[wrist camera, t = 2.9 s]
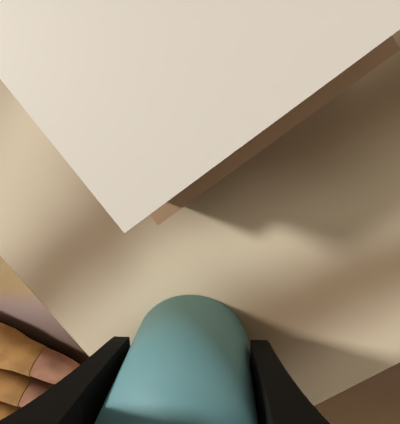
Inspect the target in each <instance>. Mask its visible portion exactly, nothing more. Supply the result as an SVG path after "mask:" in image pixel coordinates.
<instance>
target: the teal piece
mask: <svg viewBox="0 0 400 424" xmlns="http://www.w3.org/2000/svg"><path fill="white" fill-rule="evenodd" d="M94 424H258V421H257V412H256V402H255V393H254V384H253V377H252V368H251V359H250V348H249V340H248V335H247V332H246V330H245V328H244V325H243V324H242V322H241V321H240V319H239V318H238V317H237V315H236V314H235V313H234V312H233V311H232V310H230V309H229V308H228V307H227V306H225V305H224V304H222V303H220V302H218V301H216V300H214V299H211V298H209V297H205V296H200V295H180V296H175V297H171V298H168V299H166V300H164V301H162V302H160V303H158V304H157V305H156V306H154V307H153V308H152V309H151V310H150V311H149V312H148V313H147V315H146V316H145V317H144V319H143V321H142V323H141V325H140V327H139V329H138V331H137V333H136V335H135V338H134V340H133V342H132V344H131V346H130V348H129V350H128V353H127V355H126V357H125V359H124V361H123V363H122V365H121V368H120V370H119V372H118V374H117V376H116V378H115V380H114V383H113V385H112V387H111V389H110V391H109V393H108V395H107V398H106V400H105V402H104V404H103V406H102V408H101V410H100V413H99V415H98V417H97V419H96V421H95V423H94Z"/></svg>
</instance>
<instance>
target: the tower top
mask: <svg viewBox="0 0 400 424" xmlns="http://www.w3.org/2000/svg"><path fill="white" fill-rule="evenodd" d="M398 30H400V0H0V79H1V81H2V82H3V83H4V84H5V86H6V87H7V88H8V89H9V91H10V92H11V93H12V94H13V95H14V97H15V98H16V99H17V100H18V102H19V103H20V104H21V105H22V107H23V108H24V109H25V110H26V112H27V113H28V114H29V115H30V117H31V118H32V119H33V120H34V122H35V123H36V124H37V125H38V127H39V128H40V129H41V130H42V132H43V133H44V134H45V135H46V137H47V138H48V139H49V140H50V141H51V143H52V144H53V145H54V146H55V148H56V149H57V150H58V151H59V153H60V154H61V155H62V156H63V158H64V159H65V160H66V161H67V163H68V164H69V165H70V166H71V168H72V169H73V170H74V171H75V173H76V174H77V175H78V176H79V178H80V179H81V180H82V181H83V183H84V184H85V185H86V186H87V188H88V189H89V190H90V191H91V192H92V194H93V195H94V196H95V197H96V199H97V200H98V201H99V202H100V204H101V205H102V206H103V207H104V209H105V210H106V211H107V212H108V214H109V215H110V216H111V217H112V219H113V220H114V221H115V222H116V224H117V225H118V226H119V227H120V229H121V230H122V231H123V232H124V233H125V232H127V231H128V230H129V229H131V228H132V227H134V226H135V225H136V224H138V223H139V222H140V221H142V220H143V219H144V218H146V217H147V216H148V215H150V214H151V213H152V212H154V211H155V210H157V209H158V208H159V207H161V206H162V205H163V204H165V203H166V202H167V201H169V200H170V199H171V198H173V197H174V196H175V195H177V194H178V193H179V192H181V191H182V190H184V189H185V188H186V187H188V186H189V185H190V184H192V183H193V182H194V181H196V180H197V179H198V178H200V177H201V176H202V175H204V174H205V173H207V172H208V171H209V170H211V169H212V168H213V167H215V166H216V165H217V164H219V163H220V162H221V161H223V160H224V159H225V158H227V157H228V156H229V155H231V154H232V153H234V152H235V151H236V150H238V149H239V148H240V147H242V146H243V145H244V144H246V143H247V142H248V141H250V140H251V139H252V138H254V137H255V136H256V135H258V134H259V133H261V132H262V131H263V130H265V129H266V128H267V127H269V126H270V125H271V124H273V123H274V122H275V121H277V120H278V119H279V118H281V117H282V116H284V115H285V114H286V113H288V112H289V111H290V110H292V109H293V108H294V107H296V106H297V105H298V104H300V103H301V102H302V101H304V100H305V99H306V98H308V97H309V96H311V95H312V94H313V93H315V92H316V91H317V90H319V89H320V88H321V87H323V86H324V85H325V84H327V83H328V82H329V81H331V80H332V79H334V78H335V77H336V76H338V75H339V74H340V73H342V72H343V71H344V70H346V69H347V68H348V67H350V66H351V65H352V64H354V63H355V62H356V61H358V60H359V59H361V58H362V57H363V56H365V55H366V54H367V53H369V52H370V51H371V50H373V49H374V48H375V47H377V46H378V45H379V44H381V43H382V42H384V41H385V40H386V39H388V38H389V37H390V36H392V35H393V34H394V33H396V32H397V31H398Z"/></svg>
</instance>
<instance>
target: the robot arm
mask: <svg viewBox="0 0 400 424" xmlns="http://www.w3.org/2000/svg"><path fill="white" fill-rule="evenodd" d="M129 348H130V338H129V337H118V336H114V337H113V338H111V339H110V340H109V341H108V342H106V343H105V344H104V345H103V346H102V347H101V348H99V349H98V350H97V351H96V352H95V353H94V354H92V355H91V356H90V357H89V358H88V359H86V360H85V361H84V362H83V363H82V364H80V365H79V366H78V367H77V368H76V369H74V370H73V371H72V372H71V373H69V374H68V375H67V376H65V377H64V378H63V379H61V380H60V381H59V382H58V383H56V384H55V385H54V386H52V387H51V388H50V389H48V390H47V391H45V392H44V393H43V394H41V395H40V396H38V397H37V398H35V399H34V400H32V401H31V402H29V403H28V404H26V405H25V406H23V407H22V408H20V409H18V410H17V411H15V412H14V413H12V414H10V415H8V416H7V417H5V418H3V419H1V420H0V424H94V423H95V421H96V419H97V417H98V415H99V413H100V410H101V408H102V406H103V404H104V402H105V400H106V398H107V395H108V393H109V391H110V389H111V387H112V385H113V383H114V380H115V378H116V376H117V374H118V372H119V370H120V368H121V365H122V363H123V361H124V359H125V357H126V355H127V353H128V350H129ZM250 359H251V368H252V377H253V384H254V393H255V402H256V412H257V421H258V424H330V423H329V422H328V421H327V420H326V419H325V418H324V417H323V416H322V415H321V414H320V413H319V411H318V410H317V409H316V408H315V407H314V406H313V405H312V403H311V402H310V401H309V400H308V398H307V397H306V396H305V395H304V394H303V392H302V391H301V390H300V388H299V387H298V386H297V384H296V383H295V382H294V380H293V379H292V377H291V376H290V375H289V373H288V372H287V370H286V369H285V367H284V366H283V364H282V363H281V361H280V360H279V358H278V357H277V355H276V353H275V351H274V350H273V348H272V346H271V344H270V343H269V342H268V341H267V340H250Z"/></svg>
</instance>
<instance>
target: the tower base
mask: <svg viewBox="0 0 400 424" xmlns="http://www.w3.org/2000/svg"><path fill="white" fill-rule="evenodd" d="M399 50H400V48H399V46H398V45H397V43H396V41H395V40H394V38H393V36H390V37H389V38H388V39H386V40H385V41H384V42H382V43H381V44H379V45H378V46H377V47H375V48H374V49H373V50H371V51H370V52H369V53H367V54H366V55H365V56H363V57H362V58H361V59H359V60H358V61H356V62H355V63H354V64H352V65H351V66H350V67H348V68H347V69H346V70H344V71H343V72H342V73H340V74H339V75H338V76H336V77H335V78H334V79H332V80H331V81H329V82H328V83H327V84H325V85H324V86H323V87H321V88H320V89H319V90H317V91H316V92H315V93H313V94H312V95H311V96H309V97H308V98H306V99H305V100H304V101H302V102H301V103H300V104H298V105H297V106H296V107H294V108H293V109H292V110H290V111H289V112H288V113H286V114H285V115H284V116H282V117H281V118H279V119H278V120H277V121H275V122H274V123H273V124H271V125H270V126H269V127H267V128H266V129H265V130H263V131H262V132H261V133H259V134H258V135H256V136H255V137H254V138H252V139H251V140H250V141H248V142H247V143H246V144H244V145H243V146H242V147H240V148H239V149H238V150H236V151H235V152H234V153H232V154H231V155H229V156H228V157H227V158H225V159H224V160H223V161H221V162H220V163H219V164H217V165H216V166H215V167H213V168H212V169H211V170H209V171H208V172H207V173H205V174H204V175H202V176H201V177H200V178H198V179H197V180H196V181H194V182H193V183H192V184H190V185H189V186H188V187H186V188H185V189H184V190H182V191H181V192H179V193H178V194H177V195H175V196H174V197H173V198H171V199H170V200H169V201H167V202H166V203H165V204H163V205H162V206H161V207H159V208H158V209H157V210H155V211H154V212H152V213H151V214H150V216H151V217H152V219H153V220H154V221H155V222H156V224H157V225H159V224H161V223H162V222H164V221H165V220H166V219H168V218H169V217H170V216H172V215H173V214H175V213H176V212H177V211H179V210H180V209H181V208H183V207H184V206H186V205H187V204H188V203H190V202H191V201H192V200H194V199H195V198H197V197H198V196H199V195H201V194H202V193H203V192H205V191H206V190H208V189H209V188H210V187H212V186H213V185H215V184H216V183H217V182H219V181H220V180H221V179H223V178H224V177H226V176H227V175H228V174H230V173H231V172H232V171H234V170H235V169H237V168H238V167H239V166H241V165H242V164H243V163H245V162H246V161H248V160H249V159H250V158H252V157H253V156H254V155H256V154H257V153H259V152H260V151H261V150H263V149H264V148H266V147H267V146H268V145H270V144H271V143H272V142H274V141H275V140H277V139H278V138H279V137H281V136H282V135H283V134H285V133H286V132H288V131H289V130H290V129H292V128H293V127H294V126H296V125H297V124H299V123H300V122H301V121H303V120H304V119H305V118H307V117H308V116H310V115H311V114H312V113H314V112H315V111H316V110H318V109H319V108H321V107H322V106H323V105H325V104H326V103H328V102H329V101H330V100H332V99H333V98H334V97H336V96H337V95H339V94H340V93H341V92H343V91H344V90H345V89H347V88H348V87H350V86H351V85H352V84H354V83H355V82H356V81H358V80H359V79H361V78H362V77H363V76H365V75H366V74H367V73H369V72H370V71H372V70H373V69H374V68H376V67H377V66H378V65H380V64H381V63H383V62H384V61H385V60H387V59H388V58H390V57H391V56H392V55H394V54H395V53H396V52H398V51H399Z"/></svg>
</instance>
